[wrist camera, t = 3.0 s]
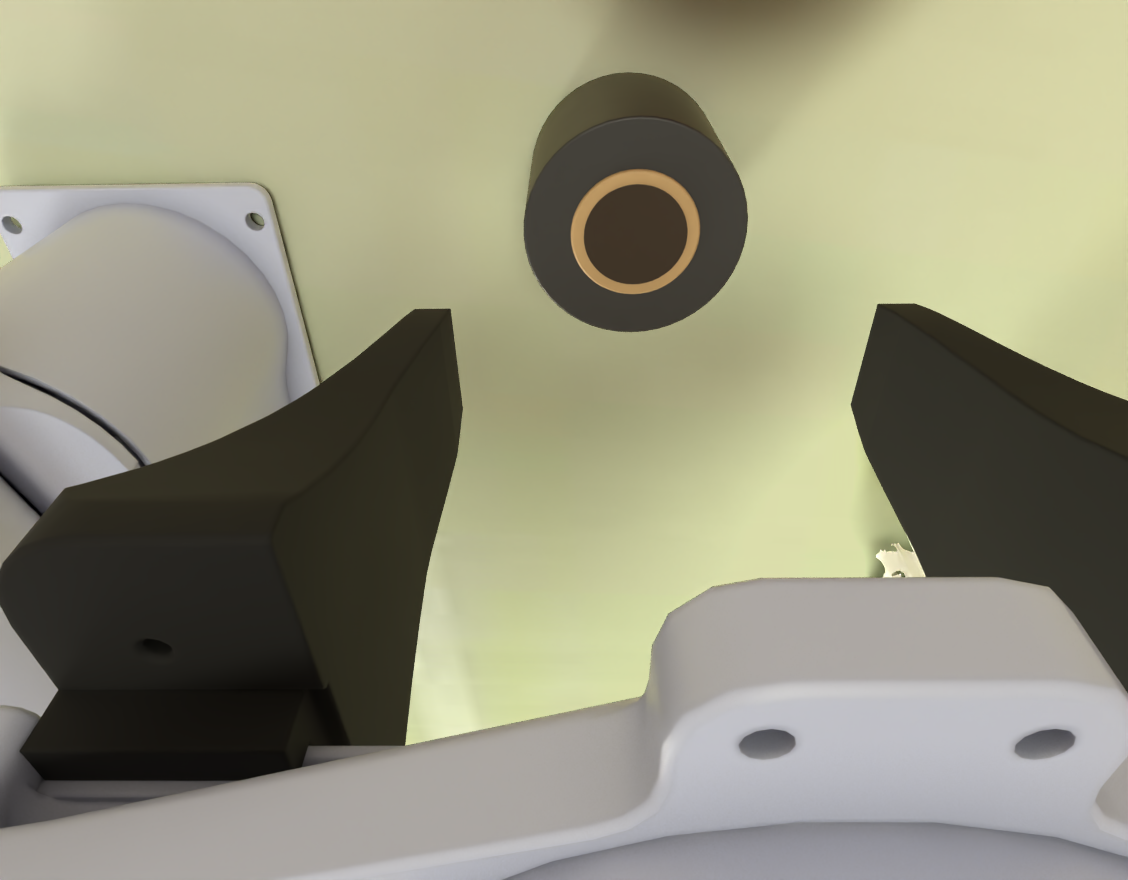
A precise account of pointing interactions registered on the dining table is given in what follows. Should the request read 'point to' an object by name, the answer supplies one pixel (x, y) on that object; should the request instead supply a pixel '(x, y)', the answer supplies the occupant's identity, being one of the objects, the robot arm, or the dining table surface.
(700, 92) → the dining table surface
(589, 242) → the tape roll
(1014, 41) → the dining table surface
